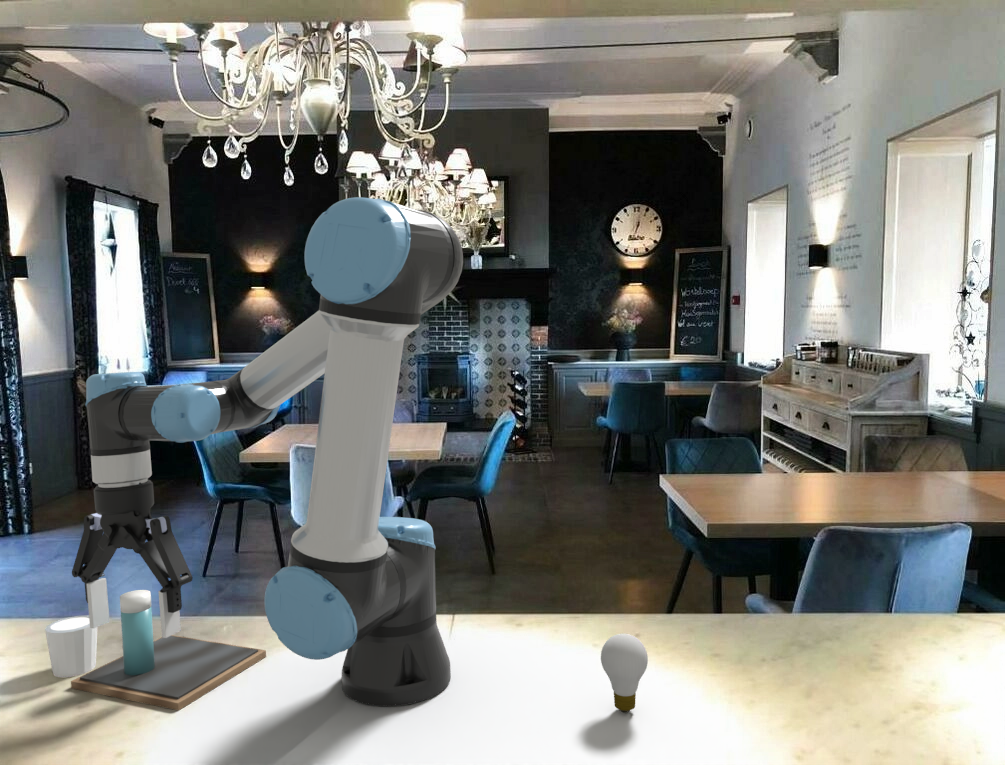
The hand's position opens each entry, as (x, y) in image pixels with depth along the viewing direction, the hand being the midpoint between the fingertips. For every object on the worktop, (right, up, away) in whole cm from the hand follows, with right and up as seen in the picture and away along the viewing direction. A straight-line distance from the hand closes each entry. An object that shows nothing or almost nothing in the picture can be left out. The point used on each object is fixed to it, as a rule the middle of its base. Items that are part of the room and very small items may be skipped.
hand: (134, 629), depth 110 cm
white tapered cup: (-11, -8, +5) cm, 15 cm away
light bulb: (+68, -7, -12) cm, 69 cm away
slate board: (+4, -7, +3) cm, 9 cm away
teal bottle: (0, -6, +2) cm, 6 cm away
